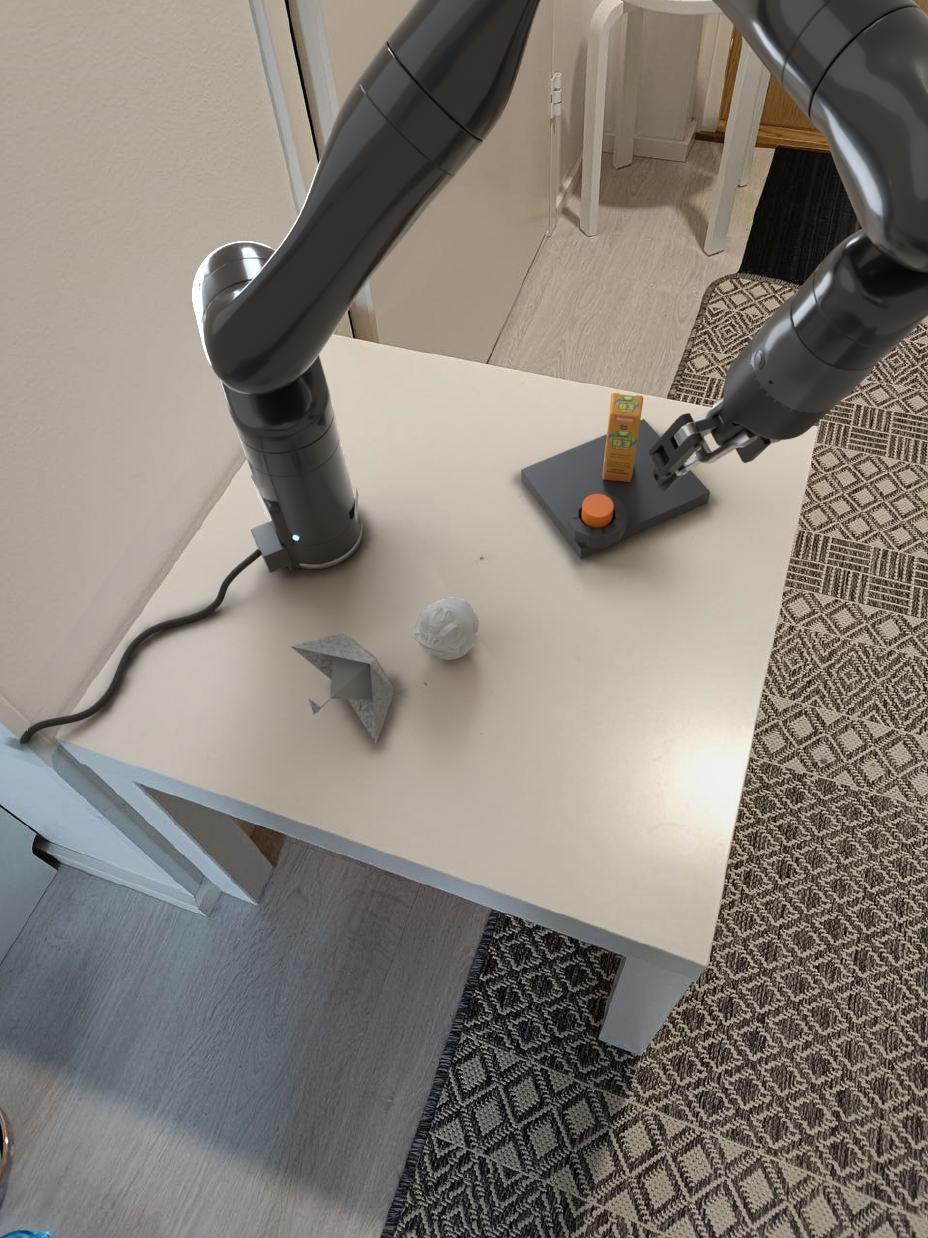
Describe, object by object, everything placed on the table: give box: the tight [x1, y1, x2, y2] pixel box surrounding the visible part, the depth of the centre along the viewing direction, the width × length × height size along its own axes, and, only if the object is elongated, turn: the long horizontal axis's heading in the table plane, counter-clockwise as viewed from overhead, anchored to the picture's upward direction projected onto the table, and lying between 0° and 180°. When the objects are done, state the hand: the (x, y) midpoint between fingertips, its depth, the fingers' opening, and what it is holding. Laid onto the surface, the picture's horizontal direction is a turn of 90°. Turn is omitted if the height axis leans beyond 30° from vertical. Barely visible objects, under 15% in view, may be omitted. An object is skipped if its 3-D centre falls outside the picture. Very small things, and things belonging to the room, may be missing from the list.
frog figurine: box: [413, 596, 480, 661], centre depth 86 cm, size 6×7×7 cm
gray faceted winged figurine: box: [290, 632, 395, 744], centre depth 84 cm, size 12×6×9 cm
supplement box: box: [603, 392, 644, 482], centre depth 95 cm, size 3×3×10 cm
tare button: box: [581, 494, 614, 528], centre depth 93 cm, size 3×3×2 cm
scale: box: [520, 418, 711, 560], centre depth 98 cm, size 16×14×4 cm
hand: (701, 466), depth 78 cm, fingers open, 8 cm apart
